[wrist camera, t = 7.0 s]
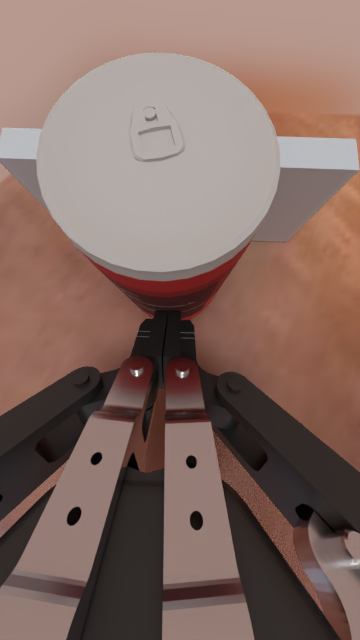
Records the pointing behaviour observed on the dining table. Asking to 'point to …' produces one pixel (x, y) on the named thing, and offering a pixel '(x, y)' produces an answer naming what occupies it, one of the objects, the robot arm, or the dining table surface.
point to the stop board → (292, 190)
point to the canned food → (159, 175)
